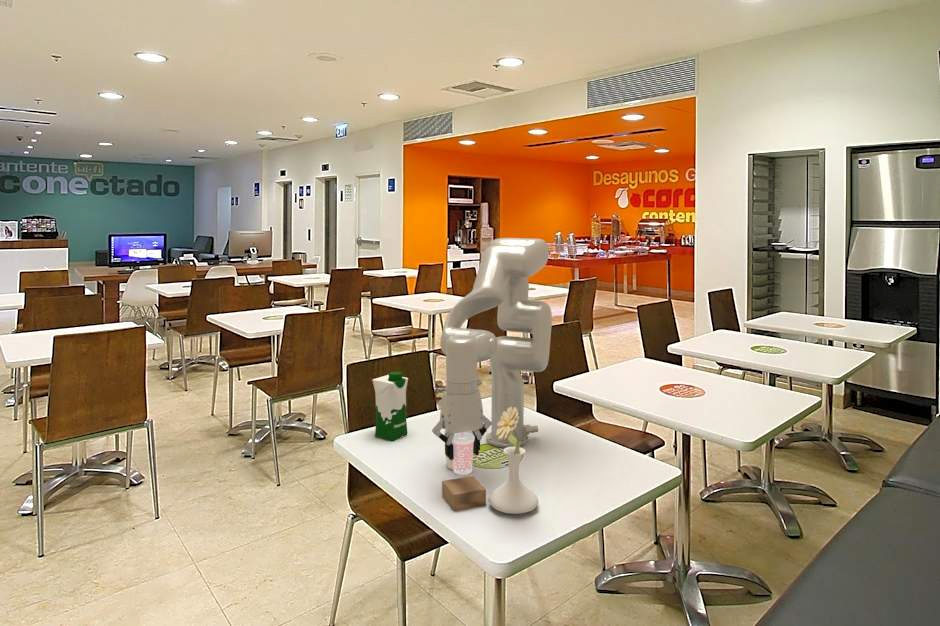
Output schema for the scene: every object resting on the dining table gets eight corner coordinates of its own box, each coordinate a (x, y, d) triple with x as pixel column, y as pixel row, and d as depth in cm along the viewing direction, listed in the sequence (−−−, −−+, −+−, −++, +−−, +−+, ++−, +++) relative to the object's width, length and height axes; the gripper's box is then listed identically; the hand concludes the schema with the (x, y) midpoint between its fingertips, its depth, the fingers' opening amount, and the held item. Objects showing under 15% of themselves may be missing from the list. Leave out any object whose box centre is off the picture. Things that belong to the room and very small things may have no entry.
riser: (473, 491, 155) (473, 475, 154) (485, 505, 148) (486, 489, 147) (442, 496, 152) (442, 480, 151) (453, 511, 145) (453, 494, 144)
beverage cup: (447, 474, 157) (445, 420, 154) (456, 464, 162) (455, 412, 160) (470, 477, 155) (469, 423, 152) (478, 467, 160) (478, 414, 158)
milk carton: (392, 443, 187) (391, 377, 184) (370, 436, 192) (368, 372, 189) (411, 434, 194) (411, 371, 191) (390, 428, 199) (388, 366, 196)
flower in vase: (490, 495, 153) (491, 395, 149) (537, 497, 152) (540, 396, 148) (486, 521, 140) (487, 412, 136) (538, 523, 139) (541, 414, 135)
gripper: (488, 378, 161) (488, 444, 164) (423, 386, 155) (425, 455, 158) (500, 386, 154) (500, 455, 157) (433, 395, 148) (434, 467, 151)
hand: (462, 455), depth 158 cm, fingers closed on beverage cup, 6 cm apart
